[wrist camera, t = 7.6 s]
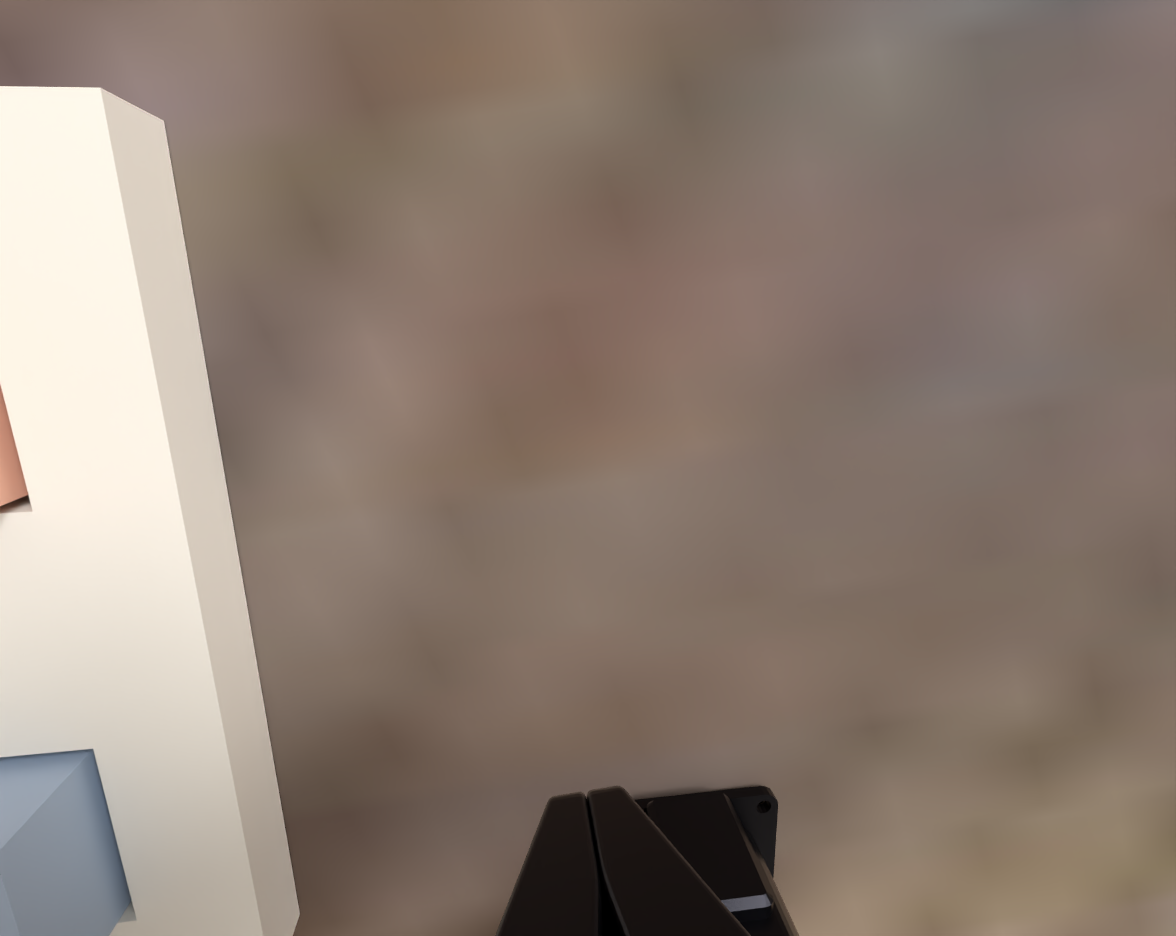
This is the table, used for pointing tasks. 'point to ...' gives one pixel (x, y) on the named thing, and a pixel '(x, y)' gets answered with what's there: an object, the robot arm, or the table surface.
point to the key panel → (127, 524)
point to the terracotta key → (9, 461)
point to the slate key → (57, 848)
